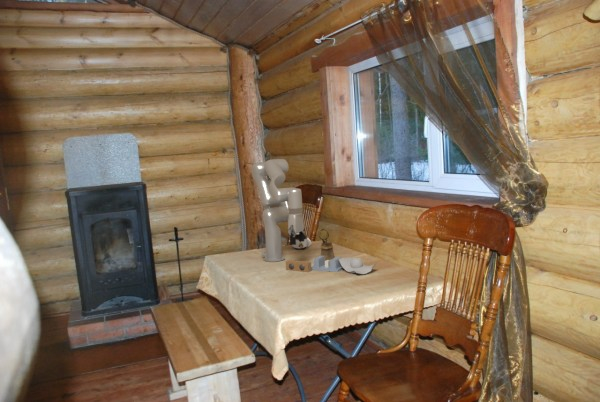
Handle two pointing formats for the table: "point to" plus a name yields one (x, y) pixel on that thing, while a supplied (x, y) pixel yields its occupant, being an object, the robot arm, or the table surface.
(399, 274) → the table surface
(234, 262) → the table surface
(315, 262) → the display stand
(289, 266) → the tan wooden plank
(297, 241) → the spread jar
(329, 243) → the wooden mug
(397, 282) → the table surface
